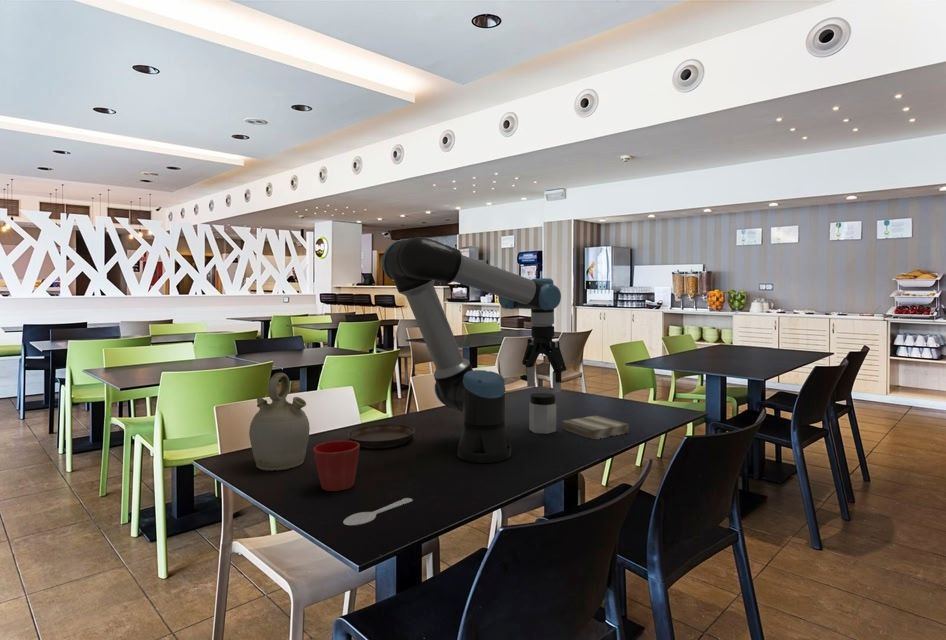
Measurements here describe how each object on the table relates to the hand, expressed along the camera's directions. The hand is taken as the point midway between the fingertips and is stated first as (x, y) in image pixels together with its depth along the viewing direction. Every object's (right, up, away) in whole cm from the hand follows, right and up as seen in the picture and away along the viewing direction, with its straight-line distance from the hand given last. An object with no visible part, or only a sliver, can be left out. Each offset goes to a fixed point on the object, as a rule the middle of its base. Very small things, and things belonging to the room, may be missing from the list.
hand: (543, 389), depth 184 cm
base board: (+17, -14, -1) cm, 22 cm away
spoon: (-43, -18, -66) cm, 81 cm away
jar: (0, -14, +1) cm, 14 cm away
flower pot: (-56, -17, -50) cm, 77 cm away
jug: (-76, -16, -33) cm, 84 cm away
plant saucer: (-52, -15, -10) cm, 55 cm away
